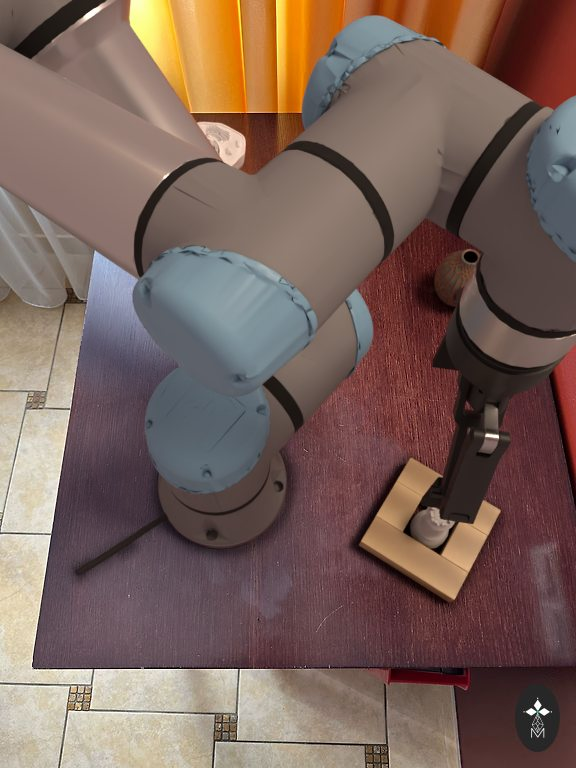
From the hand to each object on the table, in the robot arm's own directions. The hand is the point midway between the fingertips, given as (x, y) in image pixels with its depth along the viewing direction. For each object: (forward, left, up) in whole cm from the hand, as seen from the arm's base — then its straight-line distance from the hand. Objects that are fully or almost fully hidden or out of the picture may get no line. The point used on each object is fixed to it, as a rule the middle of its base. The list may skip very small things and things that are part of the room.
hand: (441, 431), depth 63 cm
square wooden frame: (-1, -5, -22) cm, 22 cm away
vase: (+24, +17, -22) cm, 37 cm away
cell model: (+9, +55, -22) cm, 60 cm away
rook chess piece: (-1, -5, -22) cm, 22 cm away
